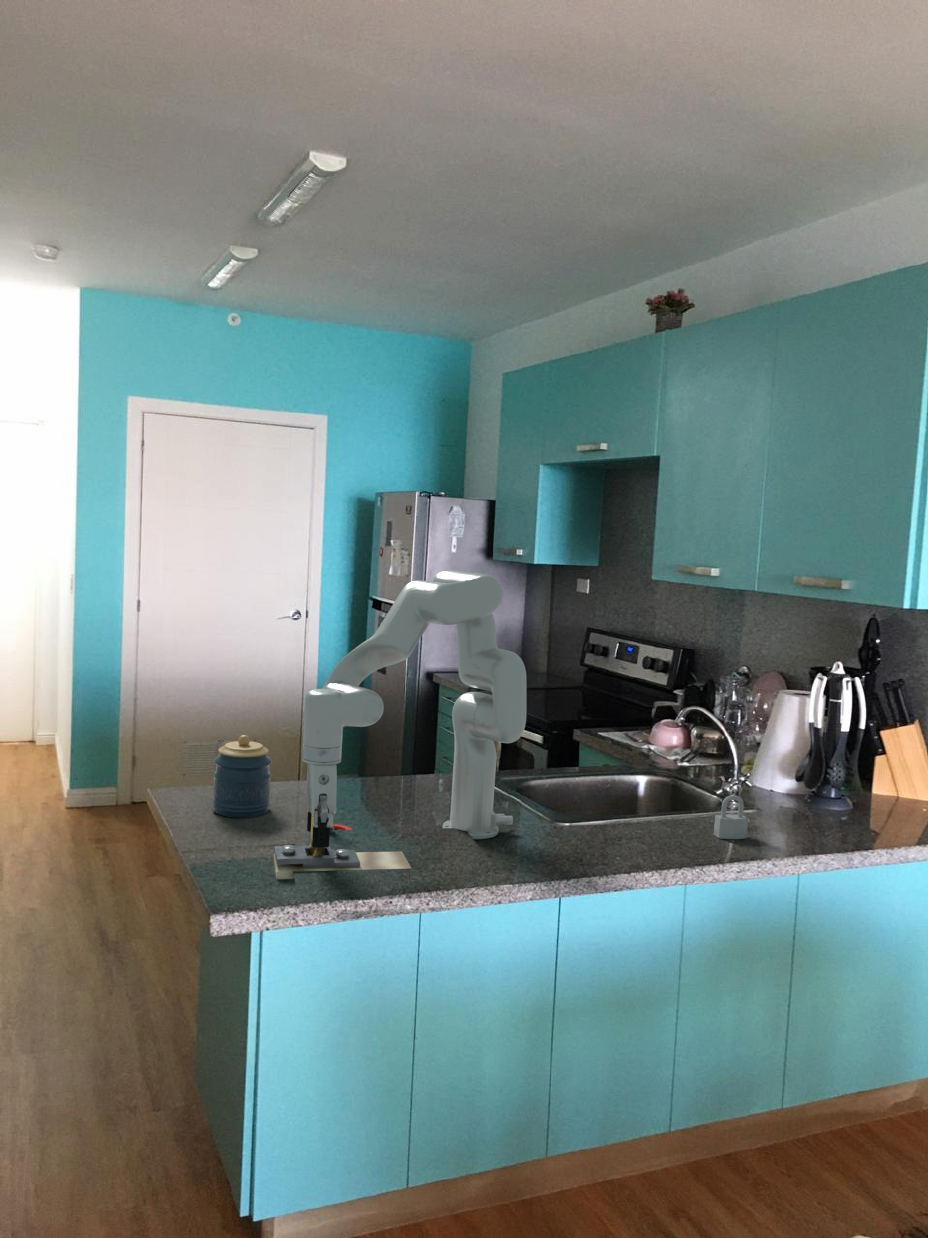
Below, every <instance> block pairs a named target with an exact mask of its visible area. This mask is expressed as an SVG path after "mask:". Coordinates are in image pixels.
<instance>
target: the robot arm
mask: <svg viewBox="0 0 928 1238" xmlns="http://www.w3.org/2000/svg"><path fill="white" fill-rule="evenodd" d="M503 590H504V589H503V586H502V584H501V583H500V581H499V580H498V579H497V578H496V577H495V576H492V575H490V574H486V573H479V572H470V571H463V570H457V569H456V570H455V569H454V570H453V569H450V570H449V569H448V570H447V569H446V570H442V571H440V572H438V573H436V575H435V576H434V577H433V579H432V580H422V579H421V580H411V582H409V583H407V584H406V585H404V586H403V588H402V589H401V591H400V592H399V594H398V596H397V598H396V599H395V601H394V602H393V604H392V605H391V607H390V609H389V610H388V612H387V613H386V615H385V617H384V618H383V620H382V621H381V623H380V624H379V625H378V627H377V629H376V631H375V632H374V634H373V635H372V636H371V637H370V638H368V639H367V640H365V641H362V643H360V644H359V645H358V646H356V647H355V648H354V649H352V650H351V651H350V652H348V653H347V654H346V655H345V656H343V658H341V659H340V661H339V662H337V664H336V665H335V667H334V669H332V671H331V673H330V674H329V676H328V678H327V679H326V681H325V683H324V685H323V686H322V688H315V689H312V690H309V691H308V692H307V693H306V694H305V699H304V717H303V718H304V719H303V735H302V737H303V738H302V755H301V761H302V762H304V763H305V764H307V769H306V771H307V773H306V801H307V802H306V803H307V807H308V811H307V819H306V820H307V821H306V823H307V824H306V825H307V826H306V831H307V832H310V833H311V816H312V814H313V815H314V826H315V827H313V834H312V847H313V848H326V847H329V845H330V836H331V835H330V834H331V833H330V826H329V825H330V824H329V811H330V813H332V815H333V816H335V814H336V813H337V789H338V788H337V787H338V785H337V783H338V782H337V779H338V778H337V775H338V774H337V764H341V762H342V749H343V747H342V746H343V733H344V732H343V731H344V730H343V729H344V728H345V727H356V728H357V727H358V728H359V727H360V728H363V727H369V726H372V725H374V724H376V723H377V722H378V721H380V719H381V717H382V716H383V714H384V709H385V707H384V700H383V699H382V697H381V696H380V695H379V694H378V693H377V692H376V691H374V690H372V689H369V688H366V687H362V686H360V684H361V683H362V682H363V681H364V680H365V679H366V678H367V677H368V676H369V675H371V674H372V673H374V672H376V671H378V670H381V669H384V668H385V667H390V666H392V665H395V664H398V663H401V662H403V661H405V660H408V659H409V658H410V657H411V655H412V653H413V652H414V649H415V648H416V646H418V643H419V641H420V640H421V638H422V637H423V635H424V633H425V631H426V630H427V628H428V627H429V625H430V624H435V625H440V626H453V625H456V631H457V666H458V667H457V669H458V670H457V671H458V677H459V679H460V681H461V683H463V684H464V685H465V686H468V687H471V688H474V689H479V690H483V691H486V692H489V693H490V692H491V694H489V693H484V692H480V691H469V692H468V691H467V692H465V693H463V694H461V695H460V696H458V697H457V699H456V700H455V702H454V704H453V707H452V711H451V719H452V727H453V734H454V735H453V736H454V750H453V751H454V753H453V768H452V782H451V784H452V785H451V799H450V801H451V802H450V815H449V820H446V821H444V822H443V823H442V829H456V830H459V831H464V832H467V833H468V834H469V836H470V837H471V839H472V840H485V839H486V840H487V839H490V838H494V837H496V836H497V835H498V834H499V826H500V825H513V824H514V816H513V815H505V813H496V812H495V811H494V801H495V800H494V799H495V798H494V797H495V785H496V769H497V749H496V744H495V742H498V743H503V744H512V743H514V742H517V741H518V740H519V739H520V738H521V737H522V735H523V734H524V731H525V728H526V724H527V670H526V666H525V664H524V661H523V659H522V658H521V656H519V655H518V654H517V653H515V652H514V651H512V650H507V649H503V648H499V647H498V645H497V628H496V627H497V626H496V620H495V617H494V614H493V613H494V612H496V611H497V609H498V608H499V607H500V605H501V604H502V601H503V597H504V591H503ZM317 810H321V811H317ZM318 816H319V818H318Z"/></svg>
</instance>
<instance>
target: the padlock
mask: <svg viewBox="0 0 928 1238" xmlns="http://www.w3.org/2000/svg"><path fill="white" fill-rule="evenodd" d="M730 801H736V802H738V810H737V811H738V812H737V814H732V813H731V814H728V813H727V810H728V809H727V807H728V803H729V802H730ZM721 803H722V804H721V812H720V813H721V814H715V817H714V825H713V835H714V836H715V837H716V838H717V839H719V840H720V839H722V840H723V839H725V840H741V839H742V840H745V839H747V836H748V828H749V827H748V825H749V818H748V817H747V816H745V815H744V808H745V807H744V806H745V805H744V800H743V798H742V797H740V796H738V795H735V794H733V795H728V796H726V797H724V799H723V801H722V802H721Z"/></svg>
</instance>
